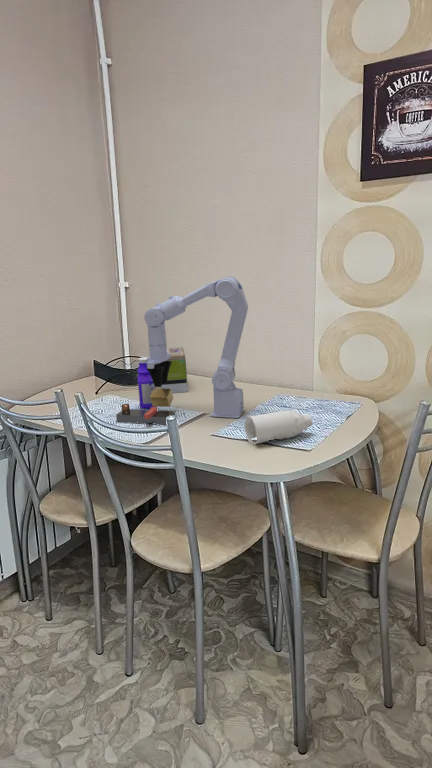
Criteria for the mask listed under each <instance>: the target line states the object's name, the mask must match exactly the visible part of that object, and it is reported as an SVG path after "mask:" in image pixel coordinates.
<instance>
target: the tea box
mask: <svg viewBox="0 0 432 768" xmlns="http://www.w3.org/2000/svg"><path fill="white" fill-rule="evenodd" d="M184 350H185V349H184V348H183V347H182V346H181V347H168V348H167V353H170V359H168V360H167V361H172V364H171V366H170V368H169V372H168V378H167V383H162V385H161V389H171V391H172V394H177V393H187V392H188V391H189V390H188V375H187V362H186V355H185V351H184Z"/></svg>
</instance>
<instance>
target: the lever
mask: <svg viewBox="0 0 432 768" xmlns="http://www.w3.org/2000/svg"><path fill="white" fill-rule="evenodd" d="M149 410H150V411H148V412H147V413H146V414H144V419H149V418H151V417H152V416H153V415H155V414H157V411H158V406H155V407H151V408H150V409H149Z"/></svg>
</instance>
